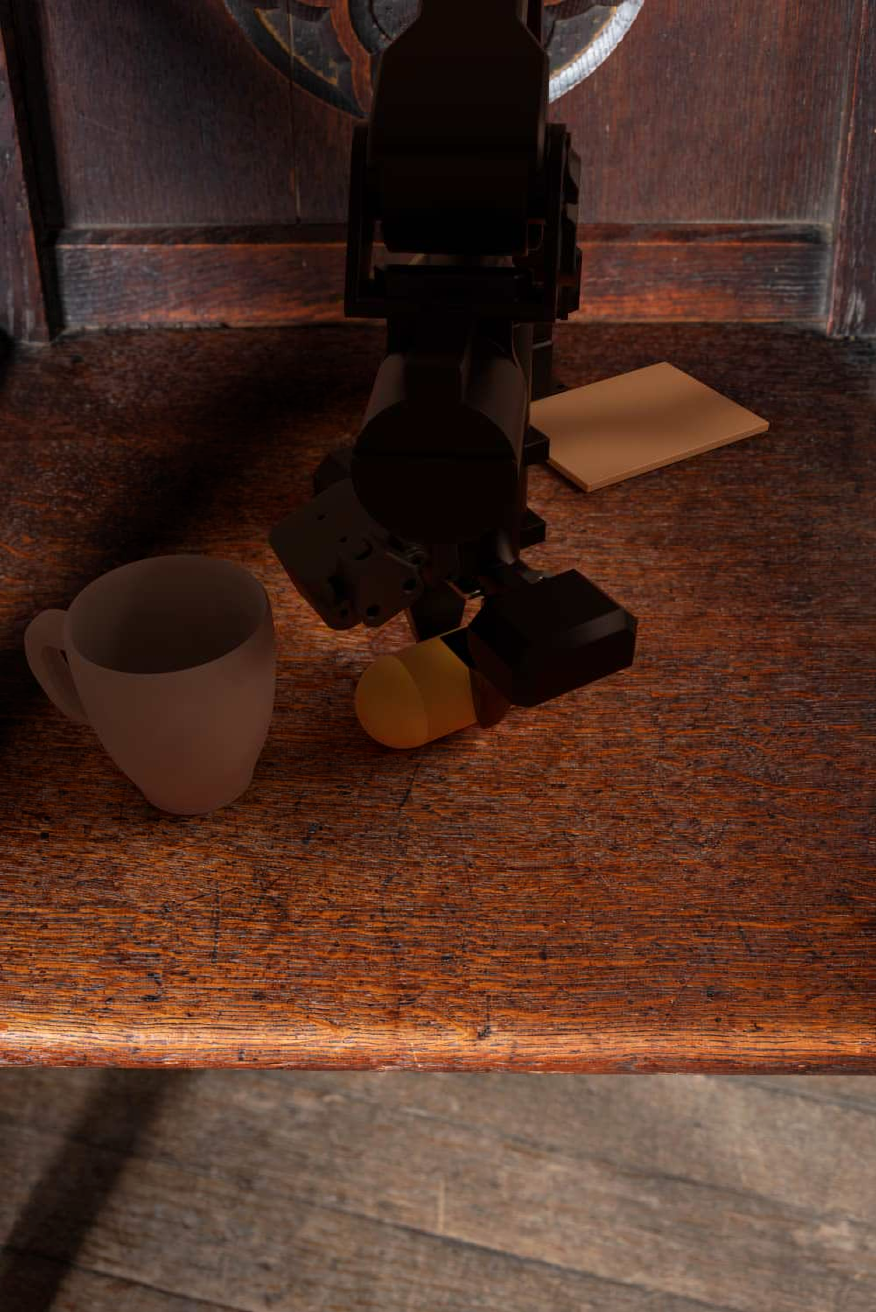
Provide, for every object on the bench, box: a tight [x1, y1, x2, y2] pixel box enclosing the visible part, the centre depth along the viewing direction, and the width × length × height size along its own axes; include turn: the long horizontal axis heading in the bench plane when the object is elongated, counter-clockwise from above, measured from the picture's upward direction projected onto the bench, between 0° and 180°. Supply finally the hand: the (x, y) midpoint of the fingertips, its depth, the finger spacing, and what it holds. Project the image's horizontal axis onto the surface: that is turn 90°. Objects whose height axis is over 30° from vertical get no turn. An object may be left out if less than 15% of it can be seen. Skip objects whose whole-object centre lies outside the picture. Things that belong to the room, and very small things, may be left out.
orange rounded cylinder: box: [354, 623, 516, 750], centre depth 62 cm, size 14×5×5 cm, turn 121°
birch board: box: [530, 361, 770, 493], centre depth 85 cm, size 11×15×1 cm
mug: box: [24, 554, 277, 816], centre depth 57 cm, size 12×9×10 cm
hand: (462, 696), depth 62 cm, fingers closed on orange rounded cylinder, 4 cm apart
